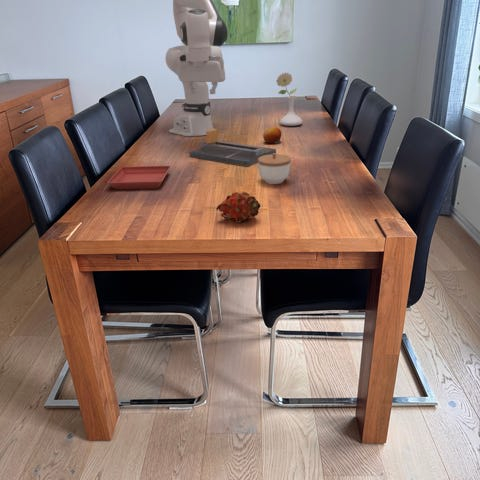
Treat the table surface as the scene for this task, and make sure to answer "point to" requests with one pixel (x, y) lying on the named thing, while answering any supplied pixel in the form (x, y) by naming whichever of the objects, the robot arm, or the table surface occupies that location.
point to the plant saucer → (139, 177)
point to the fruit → (272, 135)
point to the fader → (212, 136)
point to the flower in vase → (290, 117)
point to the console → (231, 153)
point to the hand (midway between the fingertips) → (202, 93)
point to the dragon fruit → (239, 207)
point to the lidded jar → (274, 168)
